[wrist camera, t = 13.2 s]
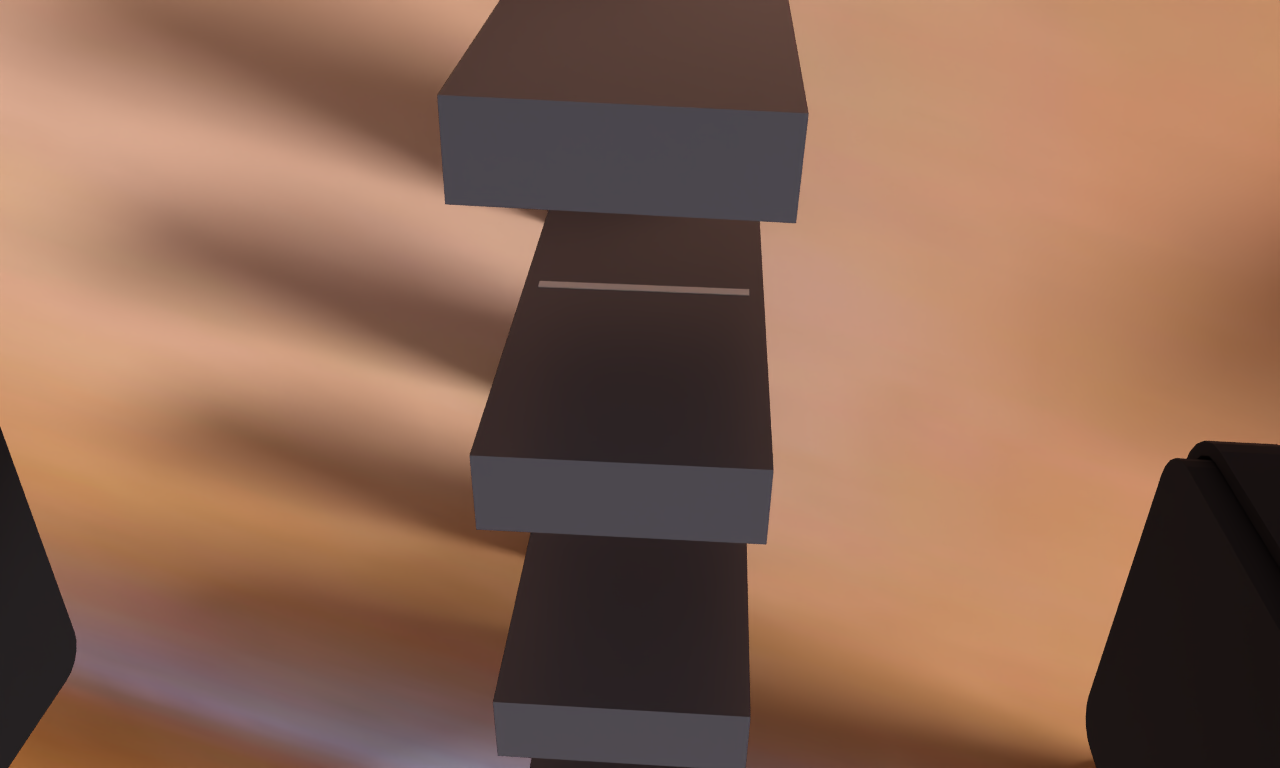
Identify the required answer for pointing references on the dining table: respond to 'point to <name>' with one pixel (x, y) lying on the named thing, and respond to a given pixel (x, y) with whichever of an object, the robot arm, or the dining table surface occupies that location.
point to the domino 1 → (629, 109)
